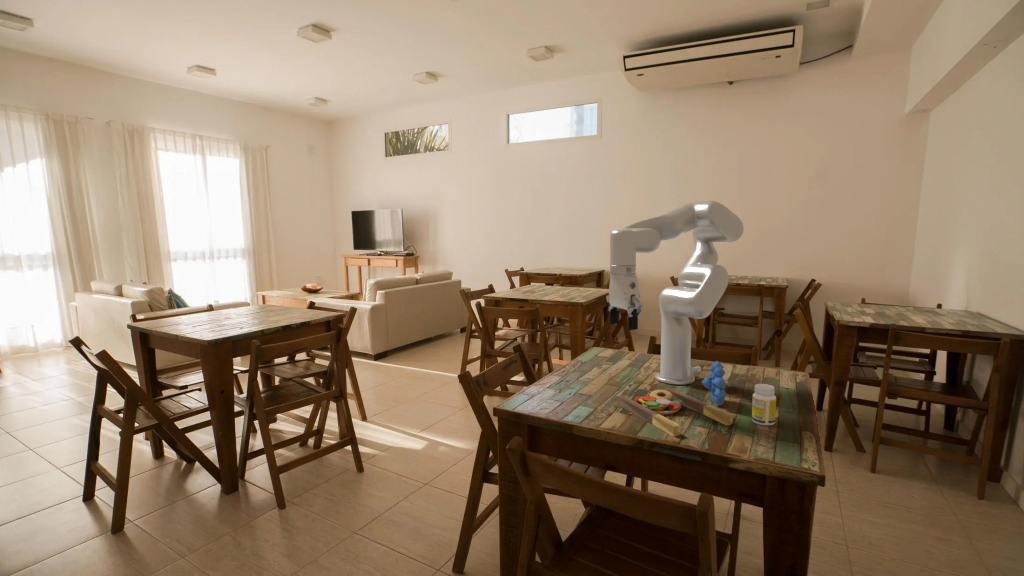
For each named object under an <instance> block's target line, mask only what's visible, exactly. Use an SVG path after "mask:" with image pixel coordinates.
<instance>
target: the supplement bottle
mask: <svg viewBox="0 0 1024 576" xmlns="http://www.w3.org/2000/svg"><path fill="white" fill-rule="evenodd" d="M751 406H752V407H751V421H752V422H753V423H755V424H757V425H762V426H773V425H775V424H776V416H777V415H776V411H777V396H776V395H775V386H773V385H771V384H767V383H756V384H754V392H753V393H752V403H751Z"/></svg>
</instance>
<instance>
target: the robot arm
mask: <svg viewBox="0 0 1024 576" xmlns="http://www.w3.org/2000/svg"><path fill="white" fill-rule="evenodd" d="M744 230H745V229H744V225H743V221H742V220H741V218H740V217H739V215H736V214H735V212H733V211H732V210H731V209H729V208H728V207H726V206H725V205H723V204H722V203H721V202H718V201H715V200H704V201H703V200H701V201H693V202H689V203H686V204H683V205H681V206H678V207H677V208H675V209H672V210H671V211H668V212H666V213H663V214H660V215H657V216H653V217H651V218H647V219H644V220H643V219H642V220H639V221H636V222H634V223H632V224H629V225H627V226H624V228H622V229H614V230H612V231H611V232H610V235H609V253H610V255H609V261H610V262H609V264H610V266H609V272H610V273H609V274H610V278H609V289H608V295H606V296H605V299H606V302H607V303H606V305H607V307H608V309H607V310H608V312H609V314H608V315H609V316H608V317H609V319H608V320H609V324H610V325H617V324H618V325H619V324H620V310H619V309H621V310H626V311H627V314H628V316H627V330H628V331H636V330H638V329H639V322H638V321H639V318H638V317H640V313H641V311H642V310H641V309H642V306H643V302H641V300H640V286H639V285H640V284H639V281H638V275H637V253H638V254H639V253H640V254H647V253H648V254H649V253H653V252H655V251H656V250H657V249H658V248H660V245H661V243H662V241H667V240H673V239H676V238H678V237H680V236H682V235H684V234H686V233H688V232H691V231H692V239H693V244H694V245H693V246H694V248H693V249H694V250H693V251H692V252H693V253H692V254H691V256H690V257H689V259H688V260H687V261H686V264H685V265H684V266H683V268H682V269H681V271H680V273H679V275H678V278H677V282H678V285H679V286H677V285H675V286H674V285H673V286H667V287H665V288H663V289H662V291H661V292H660V293H659V296H658V306H659V307H658V308H659V311H660V319H661V321H660V322H661V324H660V325H661V328H660V329H661V331H660V332H661V333H660V370H659V371H658V372H656V373H655V375H654V377H655V379H656V380H657V381H658V382H660V383H665V384H669V385H679V386H680V385H681V386H682V385H690V384H693V383H695V381H696V380H695V379H696V378H695V376H694V375H693V374H694V373H699V372H701V371H702V368H701V366H699V365H697V366H693V365H691V352H692V349H691V347H692V325H691V323H690V320H689V319H688V318H692V319H699V320H701V319H705V318H708V317H709V316H710V315H711V313H712V312H713V310H714V309H715V307H716V306H717V304H718V303H719V301H720V299H721V298H722V296H723V295H724V293H725V291H726V289H727V288H728V284H729V278H730V277H729V272H728V270H727V268H725V267H724V266H722V265H720V264H718V261H719V255H718V252H717V249H716V248H715V245H714V243H733V242H737V241H738V240H740V238H741V237H742V236H743V234H744Z"/></svg>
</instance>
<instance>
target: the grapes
mask: <svg viewBox="0 0 1024 576" xmlns="http://www.w3.org/2000/svg"><path fill="white" fill-rule="evenodd" d="M709 371H711V373H710V374H709V376H706V377H705V378H703V380H702V381H701V383H702V385H703V386H704V387H705V388H706V389H709V391H710V392H711V395H710V398H711V400H712V401H713V403H714V404H715V405H716V406H721V405H723V404H724V402H725V401H726V399H725V398H726V397H727V393H726V392H725V390H724V388H725V387H726V386H727V382H726V380H725V379H724V375H726V371H725V370H724V366H723V364H722V363H721V362H720V361H718V360H715V362H713V364H712V365H711V366H710V368H709Z"/></svg>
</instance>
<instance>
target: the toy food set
mask: <svg viewBox="0 0 1024 576" xmlns="http://www.w3.org/2000/svg"><path fill="white" fill-rule="evenodd" d="M633 401H635V402H637V403H639V404H641V405H642V406H644V407H646V408H648V409H650V410H652V411H654V412H656V413H658V414H660V415H662V416H665V415H673V414H675V413H677V412H678V411H680V410H681V408H682V403H683V401H682V400H678V399H677V400H673V395H672V394H671V393H670V392H669V391H666V390H664V389H656V390H655V389H654V390H652V391H651V392H650V393H649V395H643V396H636V397H635V398H634V400H633Z"/></svg>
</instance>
